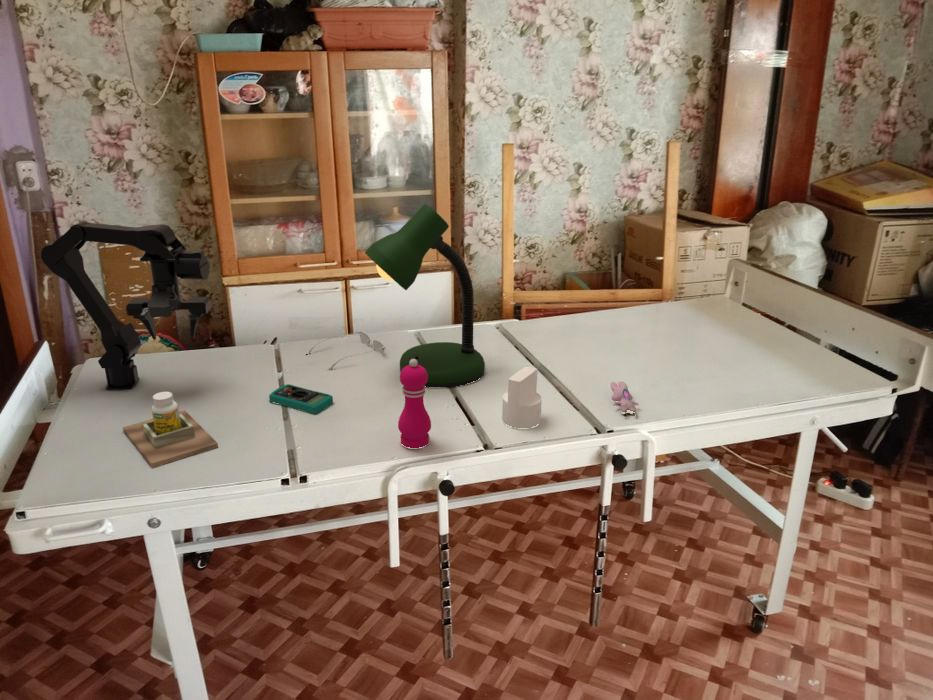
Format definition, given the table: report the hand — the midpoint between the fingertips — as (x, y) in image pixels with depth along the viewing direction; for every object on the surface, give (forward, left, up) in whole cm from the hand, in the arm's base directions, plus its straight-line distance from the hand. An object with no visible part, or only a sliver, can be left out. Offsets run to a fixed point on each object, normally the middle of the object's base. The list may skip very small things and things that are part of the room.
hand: (173, 338), depth 187 cm
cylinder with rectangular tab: (+84, -24, -13) cm, 88 cm away
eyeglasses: (+40, +18, -14) cm, 46 cm away
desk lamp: (+63, +5, -13) cm, 65 cm away
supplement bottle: (+5, -28, -12) cm, 31 cm away
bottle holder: (+5, -28, -13) cm, 31 cm away
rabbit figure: (+110, -17, -13) cm, 112 cm away
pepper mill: (+59, -33, -13) cm, 69 cm away
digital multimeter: (+32, -11, -14) cm, 36 cm away
